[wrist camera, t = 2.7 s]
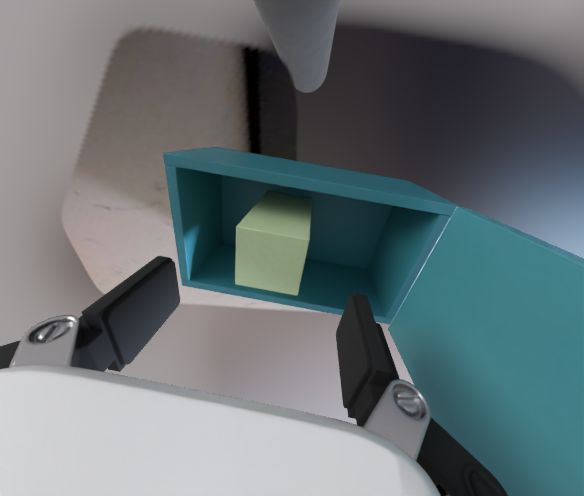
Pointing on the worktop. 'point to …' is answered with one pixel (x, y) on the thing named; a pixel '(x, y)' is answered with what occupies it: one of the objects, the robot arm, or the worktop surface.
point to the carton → (273, 243)
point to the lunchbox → (323, 231)
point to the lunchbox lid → (501, 351)
